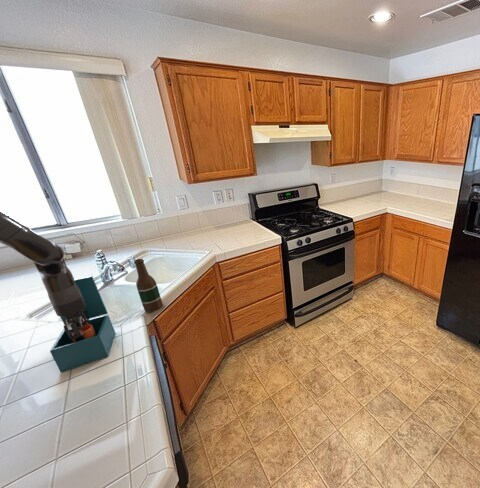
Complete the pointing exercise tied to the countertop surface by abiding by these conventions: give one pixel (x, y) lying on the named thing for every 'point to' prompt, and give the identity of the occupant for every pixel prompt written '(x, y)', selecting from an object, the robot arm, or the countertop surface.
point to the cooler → (84, 345)
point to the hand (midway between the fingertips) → (85, 339)
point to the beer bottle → (147, 288)
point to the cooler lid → (90, 298)
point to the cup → (87, 331)
